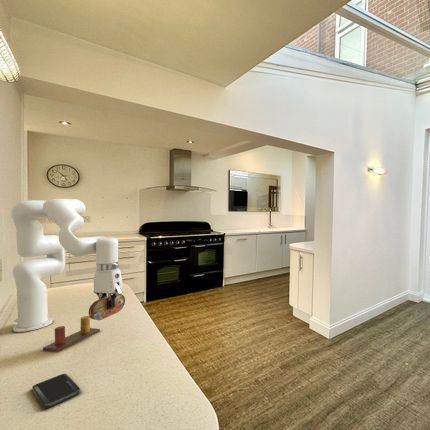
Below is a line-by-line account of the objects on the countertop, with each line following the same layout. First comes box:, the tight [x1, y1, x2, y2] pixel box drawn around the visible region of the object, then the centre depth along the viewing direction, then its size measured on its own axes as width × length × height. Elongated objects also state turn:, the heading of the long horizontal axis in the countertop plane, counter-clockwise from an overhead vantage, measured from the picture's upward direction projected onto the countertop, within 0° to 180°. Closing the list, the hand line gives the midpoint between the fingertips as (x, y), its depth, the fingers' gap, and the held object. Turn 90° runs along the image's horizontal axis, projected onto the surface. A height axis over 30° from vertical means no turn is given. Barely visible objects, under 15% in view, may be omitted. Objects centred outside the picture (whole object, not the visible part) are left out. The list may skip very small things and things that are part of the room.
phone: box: [32, 373, 81, 409], centre depth 82 cm, size 8×1×15 cm
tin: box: [88, 294, 126, 321], centre depth 115 cm, size 15×3×8 cm, turn 172°
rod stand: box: [42, 315, 101, 353], centre depth 112 cm, size 7×17×8 cm, turn 172°
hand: (107, 307), depth 115 cm, fingers closed on tin, 2 cm apart
